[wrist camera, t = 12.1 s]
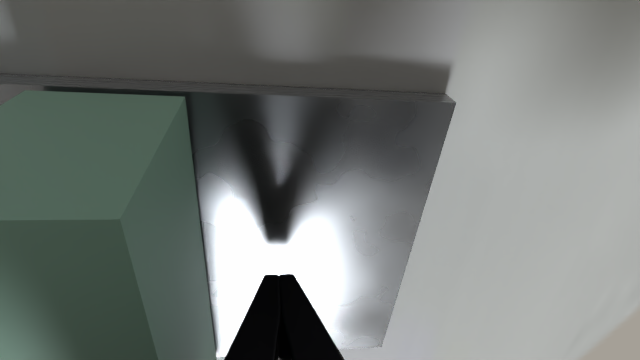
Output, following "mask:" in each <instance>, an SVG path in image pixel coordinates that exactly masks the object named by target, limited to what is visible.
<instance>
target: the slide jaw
mask: <svg viewBox="0 0 640 360" xmlns="http://www.w3.org/2000/svg"><path fill="white" fill-rule="evenodd" d="M0 360H217V359H216V351H215V343H214V334H213V326H212V318H211V309H210V301H209V293H208V284H207V276H206V267H205V259H204V251H203V242H202V234H201V226H200V217H199V209H198V201H197V192H196V184H195V176H194V167H193V159H192V151H191V142H190V134H189V126H188V117H187V109H186V100H185V97H182V96H156V95H131V94H106V93H81V92H55V91H30V90H25V91H23V92H21V93H20V94H18V95H17V96H15V97H13V98H12V99H10V100H8V101H7V102H5V103H4V104H2V105H0Z"/></svg>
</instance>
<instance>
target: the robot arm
mask: <svg viewBox="0 0 640 360" xmlns="http://www.w3.org/2000/svg"><path fill="white" fill-rule="evenodd" d="M224 360H344V358H343V357H342V355H341V353H340V352H339V350H338V348H337V346H336V345H335V343H334V341H333V340H332V338H331V336H330V335H329V333H328V331H327V329H326V328H325V326H324V324H323V323H322V321H321V319H320V318H319V316H318V314H317V313H316V311H315V309H314V307H313V306H312V304H311V302H310V301H309V299H308V297H307V296H306V294H305V292H304V290H303V289H302V287H301V285H300V284H299V282H298V280H297V279H296V277H295V276H294V275H293V274H280V275H278V274H267V275H265V276H264V277H263V279H262V281H261V283H260V285H259V287H258V289H257V291H256V294H255V296H254V298H253V300H252V302H251V304H250V306H249V308H248V311H247V313H246V315H245V317H244V319H243V321H242V323H241V325H240V327H239V330H238V332H237V334H236V336H235V338H234V340H233V342H232V344H231V346H230V349H229V351H228V353H227V355H226V357H225V359H224Z"/></svg>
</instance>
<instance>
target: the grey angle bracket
mask: <svg viewBox="0 0 640 360" xmlns="http://www.w3.org/2000/svg"><path fill="white" fill-rule="evenodd" d="M25 90H30V91H55V92H81V93H106V94H131V95H156V96H182V97H185V100H186V109H187V117H188V126H189V134H190V142H191V151H192V159H193V167H194V176H195V184H196V192H197V201H198V209H199V217H200V226H201V234H202V242H203V251H204V259H205V267H206V276H207V284H208V293H209V301H210V309H211V318H212V326H213V334H214V343H215V351H216V357H226V355H227V353H228V351H229V349H230V346H231V344H232V342H233V340H234V338H235V336H236V334H237V332H238V330H239V327H240V325H241V323H242V321H243V319H244V317H245V315H246V313H247V311H248V308H249V306H250V304H251V302H252V300H253V298H254V296H255V294H256V291H257V289H258V287H259V285H260V283H261V281H262V279H263V277H264V276H265V275H267V274H278V275H280V274H293V275H294V276H295V277H296V279H297V280H298V282H299V284H300V285H301V287H302V289H303V290H304V292H305V294H306V296H307V297H308V299H309V301H310V302H311V304H312V306H313V307H314V309H315V311H316V313H317V314H318V316H319V318H320V319H321V321H322V323H323V324H324V326H325V328H326V329H327V331H328V333H329V335H330V336H331V338H332V340H333V341H334V343H335V345H336V346H337V348H338V350H341V349H356V348H372V347H382V344H383V340H384V337H385V334H386V330H387V327H388V324H389V321H390V317H391V314H392V311H393V308H394V304H395V301H396V298H397V294H398V291H399V288H400V285H401V281H402V278H403V275H404V272H405V268H406V265H407V262H408V258H409V255H410V252H411V249H412V245H413V242H414V239H415V236H416V232H417V229H418V226H419V222H420V219H421V216H422V213H423V209H424V206H425V203H426V200H427V196H428V193H429V190H430V186H431V183H432V180H433V177H434V173H435V170H436V167H437V164H438V160H439V157H440V154H441V150H442V147H443V144H444V141H445V137H446V134H447V131H448V128H449V124H450V121H451V118H452V114H453V111H454V108H455V105H456V102H455V101H453V100H452V99H451V98H450V97H449V96H448V95H446V94H434V93H412V92H390V91H368V90H346V89H324V88H302V87H279V86H257V85H235V84H213V83H191V82H169V81H147V80H124V79H102V78H80V77H58V76H36V75H14V74H0V105H2V104H4V103H5V102H7V101H8V100H10V99H12V98H13V97H15V96H17V95H18V94H20V93H21V92H23V91H25Z"/></svg>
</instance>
